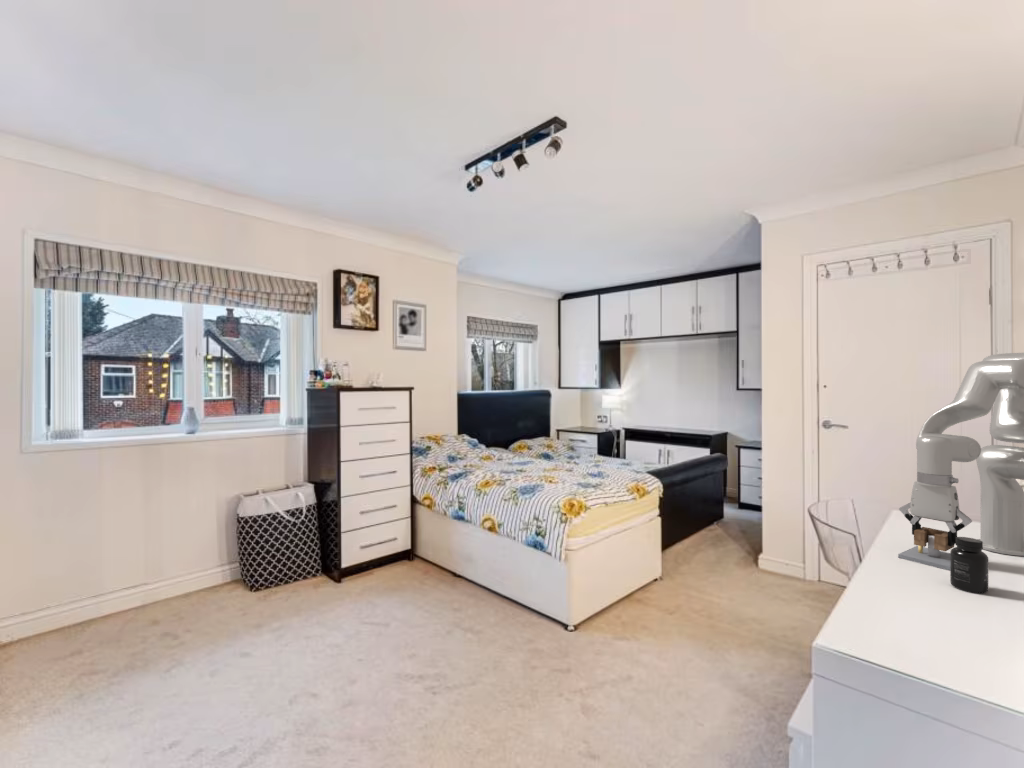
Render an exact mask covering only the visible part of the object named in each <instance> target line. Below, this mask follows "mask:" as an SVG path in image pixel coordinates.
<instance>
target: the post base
mask: <svg viewBox="0 0 1024 768" xmlns="http://www.w3.org/2000/svg"><path fill="white" fill-rule="evenodd" d="M897 557H898V558H899V559H903V560H906V561H909V562H915V563H919V564H923V565H927V566H931V567H935V568H939V569H942V570H947V571H950V552H947V551H941V550H936V549H934V536H933V535H928V543H927V547H926V546H925V547H923V546H919V545H915V546H914V547H911V548H908V549H907V550H904V551H903V552H899V553H898V555H897Z"/></svg>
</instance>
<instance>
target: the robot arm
mask: <svg viewBox="0 0 1024 768" xmlns="http://www.w3.org/2000/svg"><path fill="white" fill-rule="evenodd" d="M991 411H992V413H991V418H990V423H989V434H990V436H991V437H992V438H993V439H994V440H996V441H1001V442H1006V443H1012V444H1013V443H1015V444H1022V445H1023V444H1024V352H1009V353H1007V352H1006V353H995V354H992V355H988V356H986V357H984V358H983V359H982V360H981V361H977V362H974V363H973V364H972V363H971V365H970V366H969V367H968V369H967V371H966V372H965V375H964V376H963V379H962V381H961V383H960V386H959V387H958V389H957V393H956V394H955V396H954V398H953V400H952V402H950V403H949V404H946V405H945V406H943V407H942V408H940V409H938V410H937V411H936V412H934V413H932V414H931V415H930V416H928V418H927V419H926V420H925V421H924V423H923V424H922V426H921V428H920V430H919V433H918V435H917V438H916V442H915V448H916V481H914V482H913V487H912V490H911V494H910V495H911V496H910V502H909V503H907V504H905V505H903V506H901V507H899V508H898V510H899V511H900V513H901V514H902V515H903V516H904V518H906V519H907V520H908V521H909V523H910V524H911V535H913V536H914V530H917V529H919V528H921V527H922V524H921V523H920V521H921V520H922V518H923V519H928V520H933V521H937V522H944V523H945V524H946V526H947V527H948V529H949V531H947V532H948V545H949V546H953V545H954V546H956V545H955V543H956V537H958V532H959V531H960V530H963V529H965V527H968V525H969V524H971V523H973V520H972V518H970V517H969V516H967V514H965V513H964V512H962V511H961V510H960V502H959V495H958V490H957V487H956V486H955V485H953V484H959V478H957V477H954V476H953V474H952V473H953V471H952V470H953V466H952V465H953V464H952V463H953V462H957V463H970V462H974V461H975V460H976V467H977V469H978V473H979V474H978V475H979V480H980V538H978V540H980V541H982V542H983V550H985V551H988V552H993V553H998V554H1002V555H1009V556H1017V557H1018V556H1019V557H1021V556H1022V557H1024V488H1022V486H1021V484H1020V483H1019V482H1018V481H1017V480H1021V481H1022V480H1023V481H1024V447H1019V446H1013V445H1003V444H991V445H990V444H989V445H986V446H982V447H981V444H980V443H979V442H978V441H977V440H976V439H974V438H972V437H971V436H970V437H969V436H964V435H956V434H955V435H953V434H946V433H944V432H945V431H947V429H948V428H951V427H952V426H954V425H957V424H960V423H964V422H967V421H971V420H975V419H979V418H982V417H984V416H987V415H989V413H990V412H991ZM909 509H910V510H909ZM909 511H910V512H909ZM959 519H961V520H962V521H961V522H959V523H958V524H957V523H956V521H958V520H959Z"/></svg>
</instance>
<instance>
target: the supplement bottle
mask: <svg viewBox="0 0 1024 768" xmlns="http://www.w3.org/2000/svg"><path fill="white" fill-rule="evenodd" d="M978 539H979V538H978ZM978 539H977V538H973V537H967V536H957V537H956V543H955V545H954V547H953V548H951V549H950V552H949V553H950V570H949V572H950V576H949V577H950V580H949V581H950V584H951V586H952V587H953V588H956V589H958V590H961V591H964V592H969V593H972V594H973V593H974V594H986V593H988V592H989V557H988V554H987V553H985V552H984V551H983V550H984V549H983V542H982V541H980V540H978Z"/></svg>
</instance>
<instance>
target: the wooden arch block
mask: <svg viewBox="0 0 1024 768" xmlns="http://www.w3.org/2000/svg"><path fill="white" fill-rule="evenodd" d="M948 532H949V531H946V530H941V529H936V528H931V527H927V526H921V528H919V529H917V530H914V535H913V545H915V546H918V545H919V546H923V547H925V548H926V546H927V544H928V535H933V536H934V549H936V550H940V551H943V552H947V551H950V550H952V549H953V548H955V545H953V546H949V545H948Z"/></svg>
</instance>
